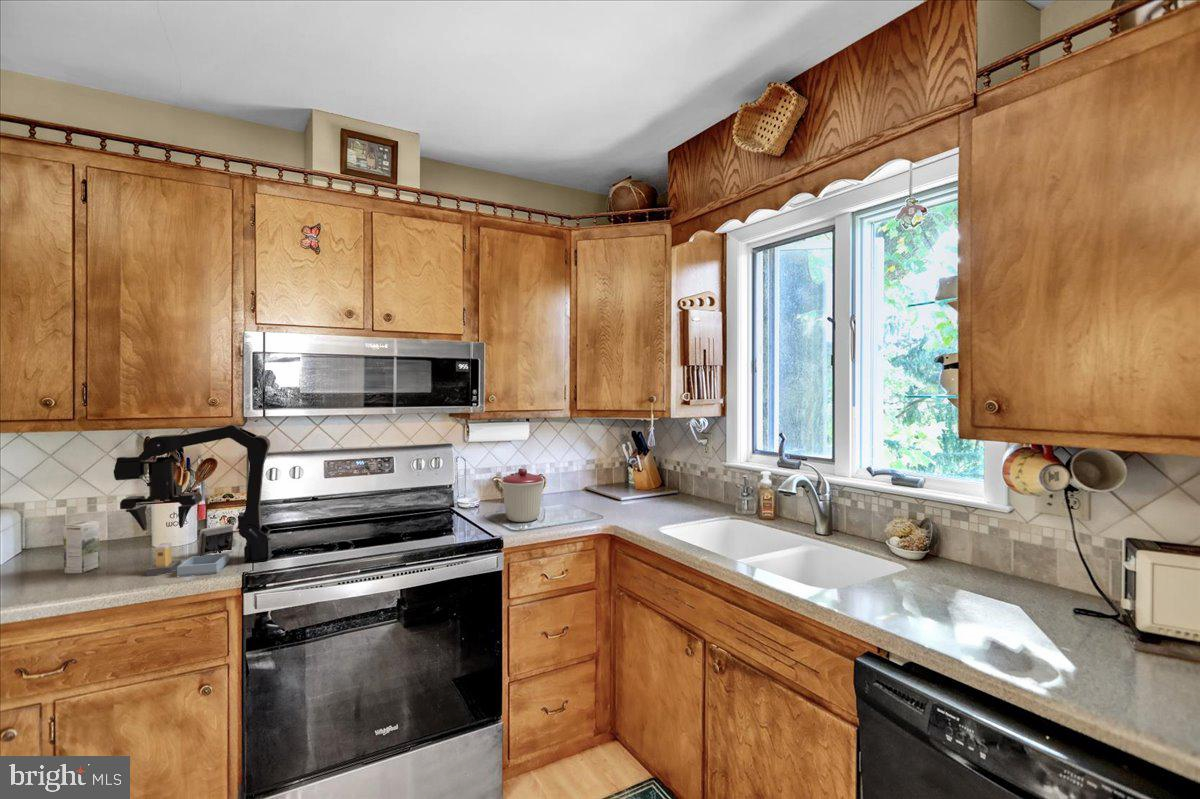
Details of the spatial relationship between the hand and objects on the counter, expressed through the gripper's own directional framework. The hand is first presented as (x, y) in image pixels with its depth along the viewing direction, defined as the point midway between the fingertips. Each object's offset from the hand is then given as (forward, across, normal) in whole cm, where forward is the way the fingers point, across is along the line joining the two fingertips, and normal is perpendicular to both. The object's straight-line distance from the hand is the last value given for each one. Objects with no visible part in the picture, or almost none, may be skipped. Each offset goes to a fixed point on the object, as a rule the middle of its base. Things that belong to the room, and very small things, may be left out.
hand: (163, 528), depth 163 cm
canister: (+14, -113, -30) cm, 118 cm away
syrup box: (+13, +24, -8) cm, 28 cm away
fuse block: (+13, 0, 0) cm, 13 cm away
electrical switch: (+13, -9, -15) cm, 22 cm away
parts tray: (+13, -11, +2) cm, 17 cm away
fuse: (+13, 0, 0) cm, 13 cm away
